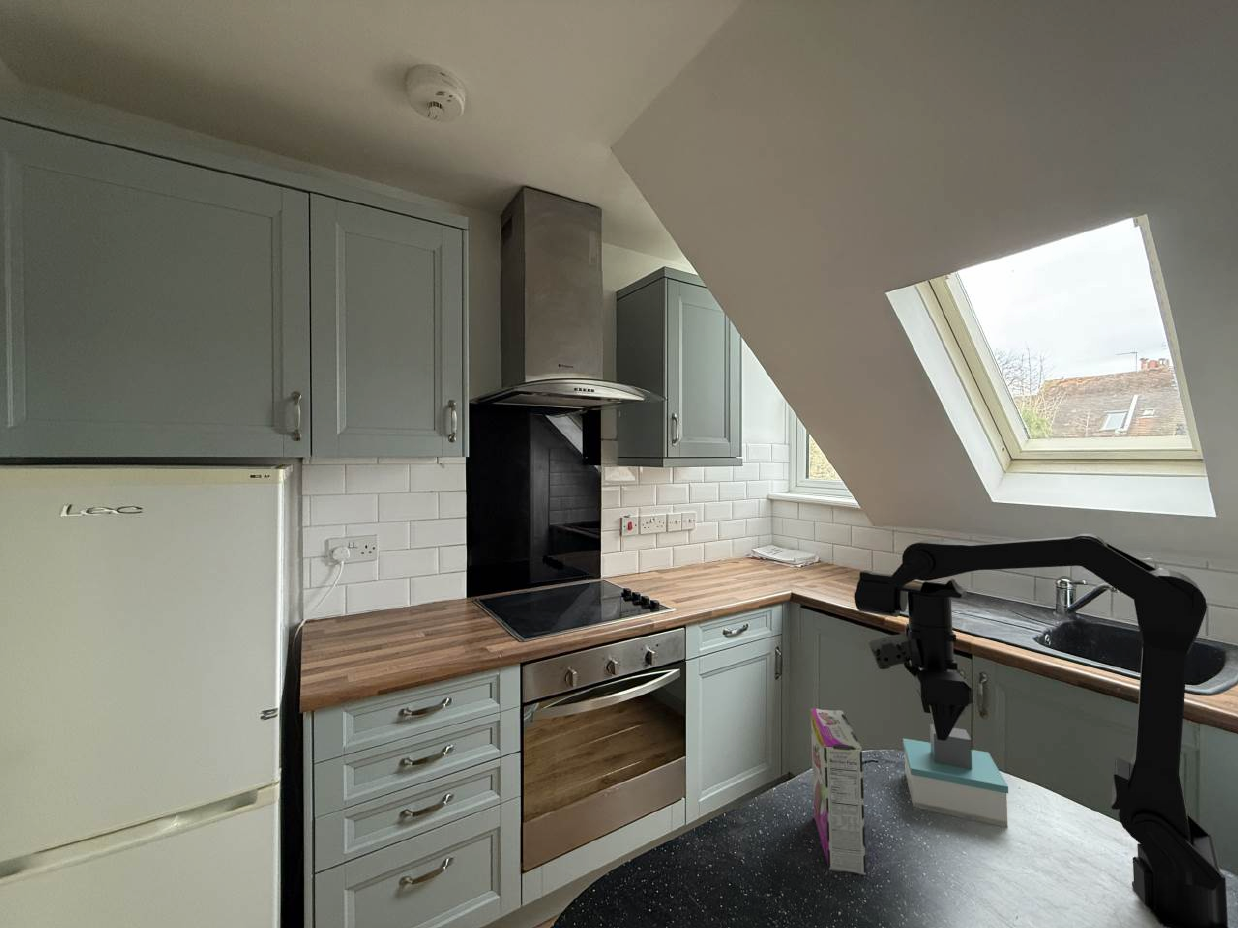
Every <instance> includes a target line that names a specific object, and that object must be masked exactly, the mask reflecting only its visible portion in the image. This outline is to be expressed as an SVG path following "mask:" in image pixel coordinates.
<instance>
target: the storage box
mask: <svg viewBox="0 0 1238 928" xmlns="http://www.w3.org/2000/svg"><path fill="white" fill-rule="evenodd" d="M904 770H905V771H904V772H905V774H904V776H905V778H906V781H907V782H906V783H907V786H908V787H907V788H908V791H909V794H910V799H911V803H912V807H913V808H916V809H921V810H926V811H930V812H934V813H941V814H945V815H948V816H953V817H958V818H962V819H967V820H972V821H976V822H977V821H978V822H981V823H986V824H991V825H996V826H999V827H1005V828H1008V808H1007V807H1008V802H1007V793H1003V792H998V791H993V790H988V789H983V788H977V787H972V786H967V785H962V784H957V783H951V782H946V781H941V780H936V779H931V778H926V777H920V776H915V775H911V772H910V768H909V765H908V761H907V757H906V753H905V752H904Z"/></svg>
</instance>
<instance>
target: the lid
mask: <svg viewBox="0 0 1238 928" xmlns="http://www.w3.org/2000/svg"><path fill="white" fill-rule="evenodd" d="M929 728H930V729H929V731H930V732H929V733H930V736H929V737H930V742H927V741H919V740H916V739H910V738H902V746H903V750H904V754H905V753H906V757H907V761H908V765H909V768H910V772H911V775H915V776H920V777H926V778H931V779H936V780H941V781H946V782H951V783H957V784H962V785H967V786H972V787H977V788H983V789H988V790H993V791H998V792H1003V793H1006V794H1009V786H1008V784H1007V782H1006V780H1005V778H1004V777H1003V775H1002V773H1001V772H1000V770H999V768H998V767H997V764H996V763H995V761H994V759H993V757H992V756H991V754H990V752H987V751H981V750H975V749H972V748H973V747H972V746H973V745H972V739H971V737H970V735H969V733H968V732H967V729H964V728H958V727H953V729H952V731H951V732H950V734H949V736H948V738H947V740H946V741H943V740H938V739H937V737H936V733H935V729H934V724H933V723H929Z"/></svg>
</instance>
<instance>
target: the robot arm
mask: <svg viewBox="0 0 1238 928" xmlns="http://www.w3.org/2000/svg"><path fill="white" fill-rule="evenodd" d="M901 561H902V563H901V564H900V566H899V567H897V569H896V570H895V571H894V572H893V573H892V574H889V573H881V572H880V573H878V572H875V571H870V570H863V571H860V572H859V579H858V581H857V584H856V587H855V588H856V589H855V592H854V596H853V598H854V603H855V604H854V605H855V607H856V609H857V611H859V612H863V613H868V614H873V615H881V616H886V617H893V618H897V617H899V615H900V614H901V613H905V612H906V610H908V623H906V625H904V633H899V634H893V635H888V636H886V637H882V638H877V639H874V640H871V641H869V642H868V645H869V647H870V650H871V653H872V655H873V657H874V660H875V662H876V664H877V667H878V669H880V670H886V669H890V667H894V666H898V665H902V664H903V666H904V668H905V669H906V670H907V671H908V672H909V673H910V674H911V675H912V676H913V677H914V680H915V684H916V685H915V686H916V691H917V694H918V696H919V699H920V703H921V708H922V711H923V712H924V713H926V714H930V715H931V719H932V724H933V725H934V729H935V733H936V737H937V739H938V740H943V741H946V740H947V738H948V736H949V734H950V732H951V731H952V729H953V728H955V725H956V723H958V720H959V718H960V717H961V716H962V714H963V712H964V711H965V709H966V708H967V707H969V706H970V704H974V694H973V693H974V692H973V691H974V690H973V688H972V687H971V685H970V684H969V683H968V681H967V680H966V679H965V678H964V677H963V676H962V675H961V674H959V672H954V671H958V663H957V660H955V659H954V643H956V642H957V635H956V633H955V632H954V631H953V615H952V599H953V598H954V599H962V598H963V597H964V596H966V595H967V594H968V591H967V590H966V589H965V588H963V587H962V586H960V585H959V584H958V583H957V582H956V580H955V579H954V578H951V579H950V580H948V581H947V582H946V583H942V582H932V581H934V580H939V579H945V578H949V577H954V576H959V575H961V574H962V575H963V574H965V573H971V572H974V571H990V570H1009V569H1010V570H1011V569H1013V570H1014V569H1015V570H1016V569H1034V568H1035V569H1037V568H1054V567H1055V568H1057V567H1082V568H1083V569H1085V570H1087V571H1089V572H1090V573H1091V574H1094V575H1095V576H1096V577H1098V578H1099V579H1101V580H1102V581H1103V582H1104V583H1106V584H1108V585H1109V586H1111V587H1113V588H1114V589H1115V590H1117V591H1119V592H1120V593H1122V594H1123V595H1125V596H1127V597H1128V598H1129V599H1132V600H1133V601H1134V603H1133V604H1134V608H1135V613H1136V614H1135V615H1136V619H1137V625H1138V629H1139V635H1140V641H1141V645H1142V647H1141V661H1140V673H1139V675H1140V677H1139V689H1138V690H1139V692H1138V705H1137V706H1138V709H1137V720H1136V721H1137V722H1136V738H1135V747H1134V752H1133V754H1132V757H1131V758H1130V761H1126V760H1124V759H1122V758H1121V757H1118V756H1115V757H1114V765H1113V766H1114V770H1113V779H1114V781H1113V783H1112V787H1111V789H1112V790H1111V805H1110V807H1111V809H1112V810H1113V811H1114V810H1117V811H1118V817H1119V822H1120V824H1121V826H1122V828H1123V829H1124V830H1125V831H1126V832H1127V834H1129V835H1130V837H1131V838H1132V839H1134V840H1135V841H1136V842H1138V843H1136V844H1137V845H1136V846H1137V856H1134V857H1132V872H1133V873H1132V874H1133V881H1131V886H1132V889H1133V890H1134V892H1135V893H1136V894H1137V896H1138V897H1139V899H1140V900H1141V902H1142V903H1143V904H1144V905H1145V906H1146V907H1147V909H1148V910H1149V912H1150V913H1151V914H1152V916H1153V917H1154V918H1155V919H1156V920H1157V922H1158V923H1159V924H1160V925H1161V926H1163V927H1165V928H1229V918H1228V899H1227V898H1228V897H1227V878H1226V875H1224V874H1223V873H1222V872H1221V869H1220V864H1219V860H1218V856H1217V850H1216V846H1215V842H1214V841H1215V840H1214V837H1213V836H1212V834H1210V833H1209V832H1208V831H1207V829H1205V828H1204V827H1203V826H1202V825H1200V823H1198V821H1196V820H1195V819H1194V817H1192V815H1190V814H1189V813H1188V812H1187V808H1186V802H1185V797H1184V790H1183V787H1182V786H1183V785H1182V780H1181V775H1180V766H1181V754H1182V753H1181V751H1182V738H1183V722H1184V709H1185V707H1184V706H1185V695H1186V682H1187V681H1186V680H1187V677H1186V676H1187V667H1188V666H1187V663H1188V657H1189V654H1190V652H1191V650H1192V648H1193V645H1194V644H1195V642H1196V641H1197V640H1196V639H1197V637H1198V636H1199V633H1200V630H1201V627H1202V625H1203V621H1204V619H1205V616H1206V613H1207V610H1208V605H1207V600H1206V597H1205V595H1204V594H1203V592H1202V591H1201V589H1200V587H1199V585H1198V584H1197V583H1196V582H1195V581H1194V580H1193V579H1191V578H1190V577H1189V576H1188V575H1185V574H1184V573H1181V572H1179V571H1175V570H1171V569H1157V568H1155V567H1153V566H1152V565H1150V564H1148V563H1147V562H1144V561H1142V560H1141V559H1140V558H1137V557H1134V556H1132V555H1131V554H1129V553H1127V552H1125V551H1123V550H1121V549H1120V548H1117V547H1115V546H1113V545H1111V544H1110V543H1108V542H1105V540H1104V539H1103V538H1101V537H1100V536H1098V535H1096V534H1092V533H1079V534H1076V535H1073V536H1060V537H1047V538H1034V539H1020V540H1008V541H1007V540H1006V541H1005V540H1004V541H995V542H992V541H991V542H981V543H978V542H977V543H974V542H962V541H954V540H941V539H926V540H922V541H919V542H915V543H912V544H910V545H908V546H907V547H906V548H905V549H904V551H903V554H902V556H901ZM916 580H918V581H923V582H922V584H921V585H911V584H910V583H912V582H914V581H916ZM907 608H908V609H907ZM948 670H952V671H953V672H951V671H948Z"/></svg>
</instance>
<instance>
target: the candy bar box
mask: <svg viewBox="0 0 1238 928" xmlns="http://www.w3.org/2000/svg"><path fill="white" fill-rule="evenodd" d="M809 710H810V733H811V735H810V738H811V758H812V759H811V760H812V762H811V763H812V765H811V766H812V789H813V791H812V793H813V817H814V820H815V824H816V828H817V831H818V835H819V839H820V842H821V845H822V849H823V852H824V857H825V860H826V863H827V869H828V870H829V871H832V872H839V873H847V874H856V875H862V876H866V875H867V863H866V862H867V861H866V860H867V859H866V856H867V855H866V831H865V826H866V825H865V824H866V823H865V800H864V798H865V797H864V776H863V775H864V774H863V749H862V746H861V744H860V743H859V740H858V738H857V736H856V735H855V732H854V730H853V728H852V726H851V724H850V722H849V721H848V718H847V717H846V714H845V713H844V711H843V710H842V709H841V710H840V709H828V708H826V709H825V708H820V707H819V708H810V709H809Z"/></svg>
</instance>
